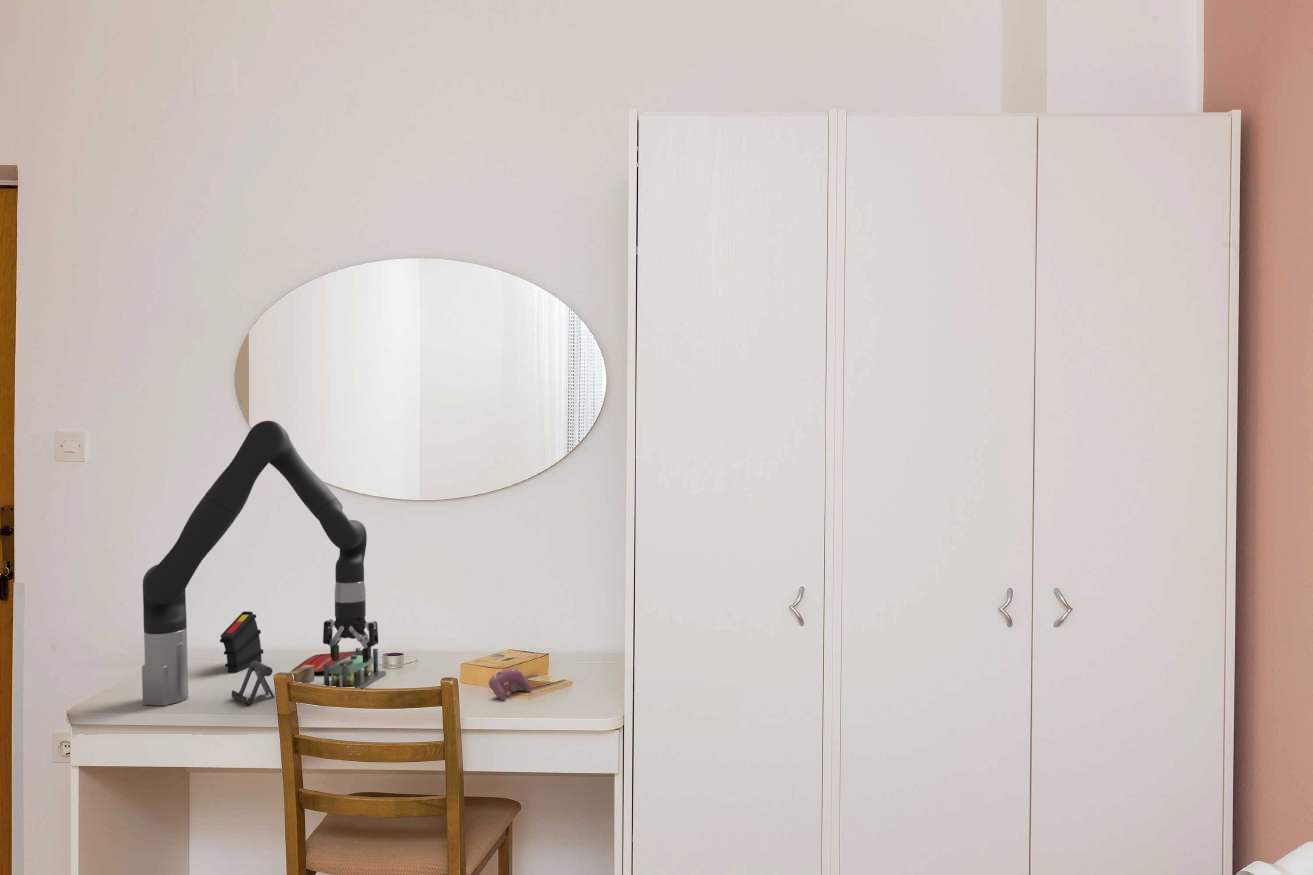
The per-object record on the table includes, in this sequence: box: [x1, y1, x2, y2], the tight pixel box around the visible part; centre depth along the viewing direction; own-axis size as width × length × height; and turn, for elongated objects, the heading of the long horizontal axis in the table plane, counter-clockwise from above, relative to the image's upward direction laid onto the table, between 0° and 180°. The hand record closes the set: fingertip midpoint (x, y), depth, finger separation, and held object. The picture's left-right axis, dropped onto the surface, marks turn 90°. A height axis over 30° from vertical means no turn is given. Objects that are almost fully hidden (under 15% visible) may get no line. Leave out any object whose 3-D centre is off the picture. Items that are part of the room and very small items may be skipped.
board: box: [329, 655, 374, 675], centre depth 237 cm, size 12×6×2 cm, turn 169°
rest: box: [288, 665, 315, 684], centre depth 237 cm, size 8×2×4 cm, turn 169°
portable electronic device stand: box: [231, 661, 275, 707], centre depth 225 cm, size 9×8×8 cm
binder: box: [291, 649, 363, 677], centre depth 255 cm, size 16×2×21 cm
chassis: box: [322, 647, 387, 689], centre depth 237 cm, size 17×10×7 cm, turn 169°
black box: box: [219, 610, 264, 673], centre depth 254 cm, size 4×13×15 cm, turn 168°
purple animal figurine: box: [488, 668, 532, 701], centre depth 226 cm, size 10×5×7 cm, turn 141°
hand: (350, 661), depth 237 cm, fingers open, 8 cm apart
